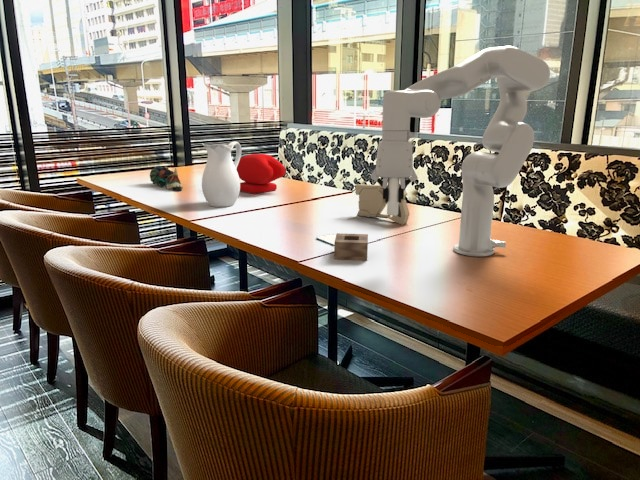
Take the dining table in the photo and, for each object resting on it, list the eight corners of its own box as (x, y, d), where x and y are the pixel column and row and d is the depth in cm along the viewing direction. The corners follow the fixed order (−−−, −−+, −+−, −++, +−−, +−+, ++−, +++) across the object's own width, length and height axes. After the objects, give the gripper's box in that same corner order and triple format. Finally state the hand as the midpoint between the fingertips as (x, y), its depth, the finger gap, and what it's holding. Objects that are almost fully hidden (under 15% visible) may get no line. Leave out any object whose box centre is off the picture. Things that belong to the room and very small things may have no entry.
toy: (264, 158, 246) (228, 151, 267) (264, 198, 252) (229, 188, 273) (289, 155, 257) (252, 149, 277) (289, 194, 263) (253, 185, 283)
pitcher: (224, 210, 224) (221, 145, 216) (195, 205, 232) (190, 143, 224) (257, 200, 243) (255, 140, 236) (229, 197, 252) (226, 139, 244)
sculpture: (170, 159, 289) (193, 171, 267) (168, 182, 292) (190, 196, 270) (146, 158, 280) (169, 170, 258) (144, 181, 284) (166, 196, 262)
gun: (410, 223, 201) (409, 185, 198) (405, 225, 198) (404, 186, 195) (361, 219, 217) (359, 183, 214) (356, 220, 215) (354, 184, 212)
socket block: (367, 250, 166) (367, 234, 165) (367, 260, 157) (367, 242, 155) (336, 249, 167) (336, 233, 166) (334, 259, 158) (334, 241, 156)
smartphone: (362, 247, 172) (333, 236, 184) (362, 244, 172) (333, 233, 184) (343, 251, 168) (315, 239, 180) (343, 248, 167) (315, 237, 180)
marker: (398, 212, 151) (399, 171, 147) (398, 215, 148) (400, 173, 144) (386, 212, 151) (388, 171, 148) (386, 215, 148) (388, 173, 145)
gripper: (424, 135, 146) (420, 199, 151) (365, 135, 148) (364, 198, 153) (426, 138, 139) (423, 205, 144) (365, 137, 140) (364, 203, 145)
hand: (392, 201), depth 148 cm, fingers closed on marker, 3 cm apart
